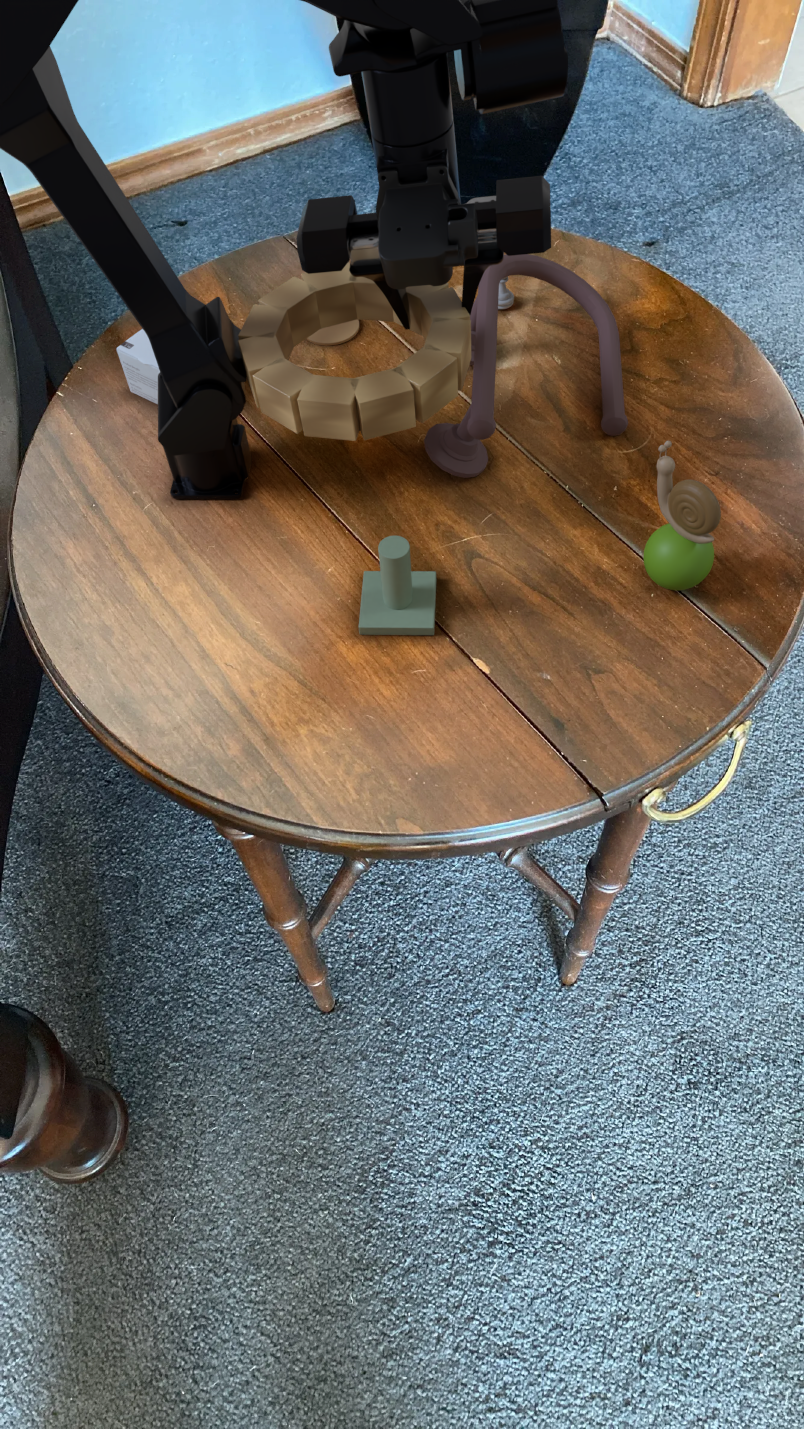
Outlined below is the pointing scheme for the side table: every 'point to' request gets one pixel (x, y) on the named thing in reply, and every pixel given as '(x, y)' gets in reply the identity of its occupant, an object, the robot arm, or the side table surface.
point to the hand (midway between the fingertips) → (436, 324)
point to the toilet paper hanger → (462, 442)
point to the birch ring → (362, 400)
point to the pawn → (504, 295)
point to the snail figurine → (681, 530)
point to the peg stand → (397, 594)
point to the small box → (140, 366)
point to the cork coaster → (335, 333)
